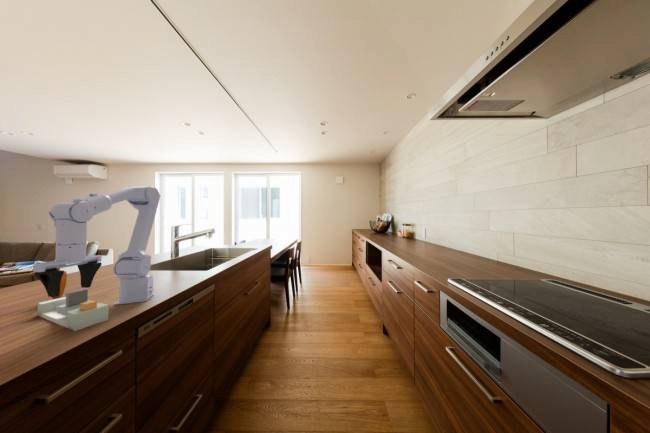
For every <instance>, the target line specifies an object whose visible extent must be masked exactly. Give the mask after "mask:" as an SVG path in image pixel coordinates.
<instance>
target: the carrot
mask: <svg viewBox="0 0 650 433" xmlns="http://www.w3.org/2000/svg"><path fill="white" fill-rule="evenodd" d="M57 270H58V271H64V273H63V276H62V279H61V283H60V293H59V296H56V297H51V298H52V300H53V299H58V298H62V296H63V294H64V292H65V289H66V285H67V276H68V274H67V271H66V270H65V269H64V270H63V269H61V268H58V269H57Z"/></svg>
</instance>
